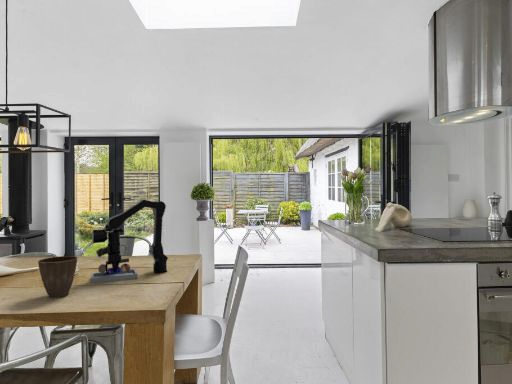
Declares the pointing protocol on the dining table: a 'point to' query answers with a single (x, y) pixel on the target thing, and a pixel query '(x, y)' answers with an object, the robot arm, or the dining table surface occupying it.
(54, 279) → the plant pot
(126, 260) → the figurine character
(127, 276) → the cradle
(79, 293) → the dining table surface
